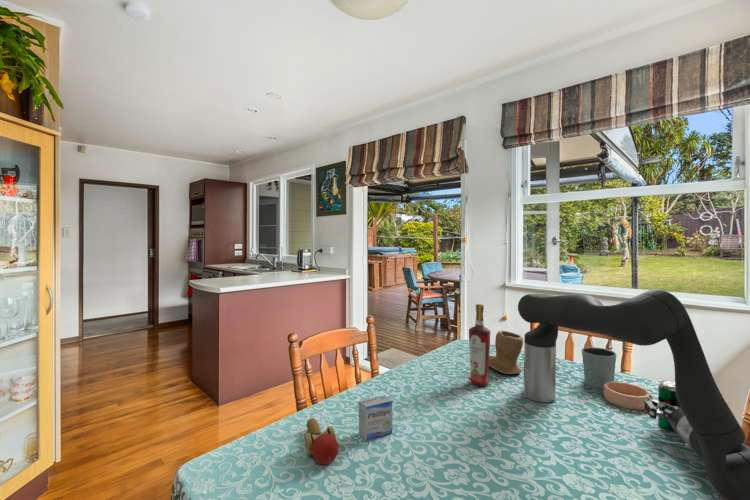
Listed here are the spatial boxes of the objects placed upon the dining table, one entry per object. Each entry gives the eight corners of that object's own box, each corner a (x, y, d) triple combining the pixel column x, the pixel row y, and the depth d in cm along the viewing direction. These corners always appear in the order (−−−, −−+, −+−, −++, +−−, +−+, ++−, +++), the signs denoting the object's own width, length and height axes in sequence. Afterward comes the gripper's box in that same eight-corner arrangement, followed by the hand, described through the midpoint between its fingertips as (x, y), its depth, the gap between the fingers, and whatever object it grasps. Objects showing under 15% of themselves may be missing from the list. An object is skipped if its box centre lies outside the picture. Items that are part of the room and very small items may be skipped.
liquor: (464, 384, 122) (465, 304, 122) (474, 378, 128) (474, 302, 127) (485, 389, 118) (485, 307, 117) (493, 383, 123) (493, 304, 123)
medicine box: (365, 441, 87) (365, 407, 87) (358, 433, 91) (358, 400, 91) (393, 433, 91) (392, 400, 90) (384, 425, 95) (384, 394, 94)
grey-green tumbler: (621, 387, 120) (621, 352, 120) (608, 394, 114) (608, 357, 114) (589, 377, 128) (590, 345, 128) (575, 383, 123) (576, 350, 122)
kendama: (294, 438, 91) (308, 469, 75) (298, 412, 92) (312, 438, 76) (323, 437, 94) (342, 467, 77) (326, 413, 95) (346, 437, 78)
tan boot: (530, 374, 131) (530, 335, 131) (503, 378, 128) (503, 337, 128) (504, 361, 146) (504, 326, 146) (479, 364, 142) (479, 328, 142)
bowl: (609, 406, 105) (610, 393, 105) (600, 390, 116) (600, 379, 116) (656, 412, 101) (657, 399, 101) (642, 396, 112) (642, 384, 112)
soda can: (687, 434, 90) (688, 388, 90) (665, 432, 91) (665, 387, 91) (674, 424, 95) (675, 381, 95) (653, 422, 96) (654, 379, 96)
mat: (606, 406, 105) (606, 405, 105) (597, 392, 116) (597, 391, 116) (659, 414, 101) (659, 412, 101) (645, 398, 111) (645, 397, 111)
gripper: (739, 420, 77) (700, 390, 92) (659, 409, 82) (635, 383, 97) (738, 453, 77) (699, 418, 93) (659, 440, 82) (635, 409, 98)
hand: (666, 400), depth 95 cm, fingers open, 7 cm apart
